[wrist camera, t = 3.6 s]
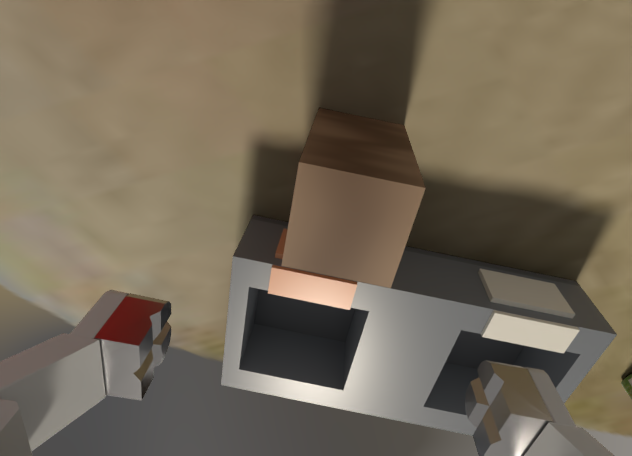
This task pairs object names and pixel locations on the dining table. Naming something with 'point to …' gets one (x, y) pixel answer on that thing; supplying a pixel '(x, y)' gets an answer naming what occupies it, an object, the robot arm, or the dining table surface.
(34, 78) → the dining table surface
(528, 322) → the socket block
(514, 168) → the dining table surface
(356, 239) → the walnut plug
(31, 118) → the dining table surface
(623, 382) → the syrup box
